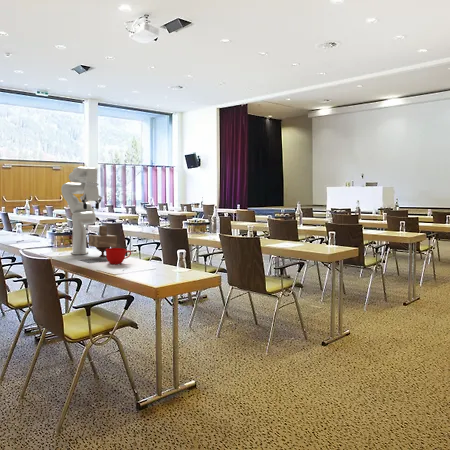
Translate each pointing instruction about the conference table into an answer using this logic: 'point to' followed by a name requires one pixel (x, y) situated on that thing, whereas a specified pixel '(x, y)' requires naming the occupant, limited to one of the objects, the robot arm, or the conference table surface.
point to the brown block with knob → (103, 239)
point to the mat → (94, 260)
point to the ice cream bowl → (102, 250)
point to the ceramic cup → (116, 255)
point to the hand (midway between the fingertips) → (91, 208)
